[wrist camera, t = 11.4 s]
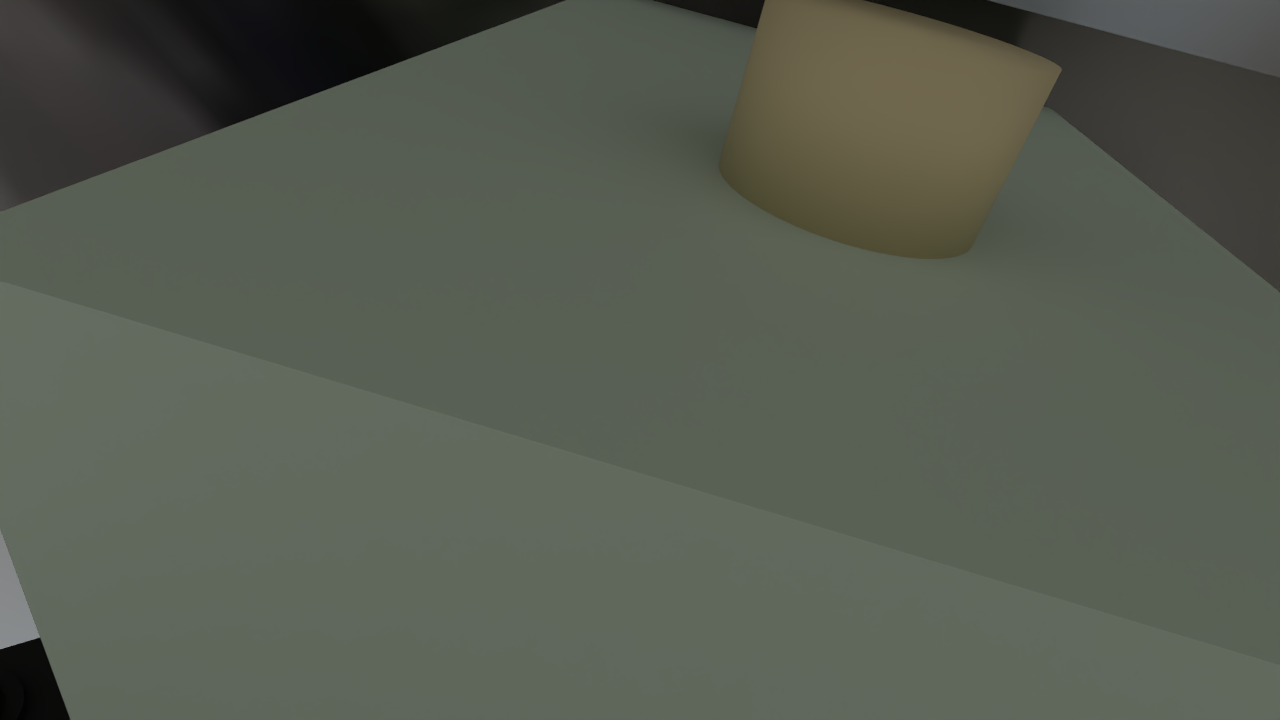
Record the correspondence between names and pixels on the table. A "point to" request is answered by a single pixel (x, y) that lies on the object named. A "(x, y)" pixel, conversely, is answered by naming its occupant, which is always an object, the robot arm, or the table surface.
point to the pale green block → (645, 396)
